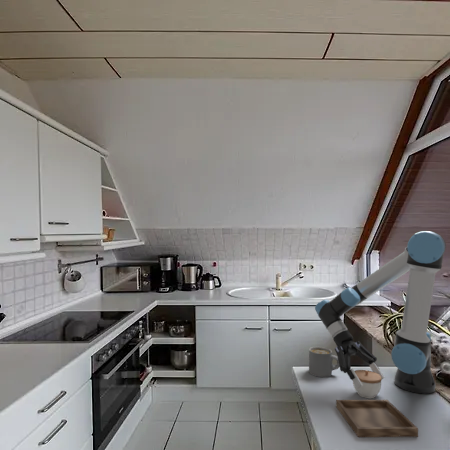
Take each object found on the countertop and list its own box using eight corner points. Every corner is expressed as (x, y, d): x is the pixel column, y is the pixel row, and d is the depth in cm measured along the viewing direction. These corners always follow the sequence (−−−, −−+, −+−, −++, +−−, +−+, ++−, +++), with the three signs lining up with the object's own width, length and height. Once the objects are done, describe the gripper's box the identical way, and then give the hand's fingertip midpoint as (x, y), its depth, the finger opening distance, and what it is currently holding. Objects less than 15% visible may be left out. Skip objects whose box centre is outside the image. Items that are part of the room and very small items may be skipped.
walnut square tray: (387, 406, 130) (387, 399, 130) (417, 436, 111) (418, 428, 111) (336, 406, 129) (336, 399, 129) (358, 437, 110) (358, 428, 110)
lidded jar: (384, 402, 133) (384, 377, 133) (354, 399, 135) (354, 374, 135) (378, 390, 143) (378, 366, 144) (350, 387, 145) (350, 364, 146)
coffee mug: (306, 374, 159) (306, 351, 159) (312, 366, 167) (312, 345, 167) (337, 380, 152) (337, 357, 152) (341, 372, 161) (341, 350, 161)
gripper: (354, 334, 159) (384, 380, 146) (314, 343, 146) (344, 394, 133) (364, 325, 155) (396, 372, 142) (324, 333, 142) (356, 385, 129)
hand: (371, 383), depth 137 cm, fingers open, 13 cm apart
